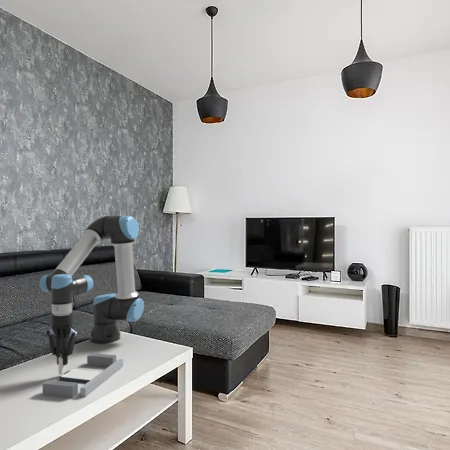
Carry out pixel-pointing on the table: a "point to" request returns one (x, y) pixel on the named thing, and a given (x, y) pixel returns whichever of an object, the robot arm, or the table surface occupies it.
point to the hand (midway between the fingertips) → (62, 372)
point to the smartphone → (79, 375)
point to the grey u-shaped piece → (72, 388)
